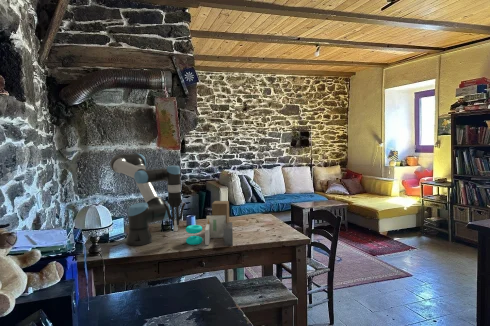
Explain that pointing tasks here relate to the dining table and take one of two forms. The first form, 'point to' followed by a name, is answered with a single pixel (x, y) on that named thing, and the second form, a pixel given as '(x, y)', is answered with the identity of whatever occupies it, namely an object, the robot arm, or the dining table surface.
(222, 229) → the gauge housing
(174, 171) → the robot arm
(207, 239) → the gauge plate
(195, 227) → the donuts
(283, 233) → the dining table surface
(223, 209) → the wooden block
